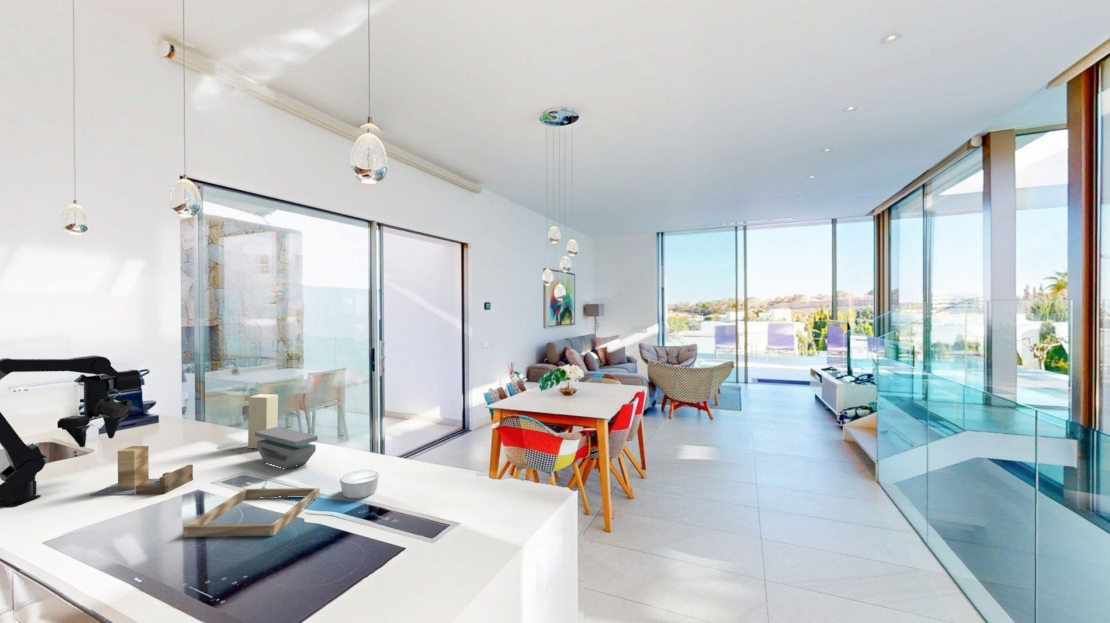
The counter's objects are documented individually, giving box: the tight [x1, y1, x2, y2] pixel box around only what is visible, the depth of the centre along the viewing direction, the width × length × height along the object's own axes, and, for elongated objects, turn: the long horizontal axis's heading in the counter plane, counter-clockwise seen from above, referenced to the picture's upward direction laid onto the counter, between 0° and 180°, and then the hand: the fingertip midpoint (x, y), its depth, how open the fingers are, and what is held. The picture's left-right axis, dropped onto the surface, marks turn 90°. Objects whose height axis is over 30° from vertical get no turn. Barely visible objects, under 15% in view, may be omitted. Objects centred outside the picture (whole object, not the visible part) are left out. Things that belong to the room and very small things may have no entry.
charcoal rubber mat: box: [89, 478, 160, 496], centre depth 140 cm, size 12×12×1 cm
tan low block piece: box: [135, 464, 194, 495], centre depth 140 cm, size 11×8×5 cm
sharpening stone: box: [255, 426, 319, 470], centre depth 161 cm, size 25×8×11 cm, turn 62°
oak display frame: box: [183, 487, 321, 538], centre depth 122 cm, size 23×22×2 cm
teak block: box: [117, 445, 150, 489], centre depth 140 cm, size 5×5×12 cm
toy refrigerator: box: [247, 393, 279, 448], centre depth 181 cm, size 8×7×21 cm
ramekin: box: [339, 469, 380, 499], centre depth 137 cm, size 11×11×5 cm
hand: (97, 442), depth 143 cm, fingers open, 9 cm apart
